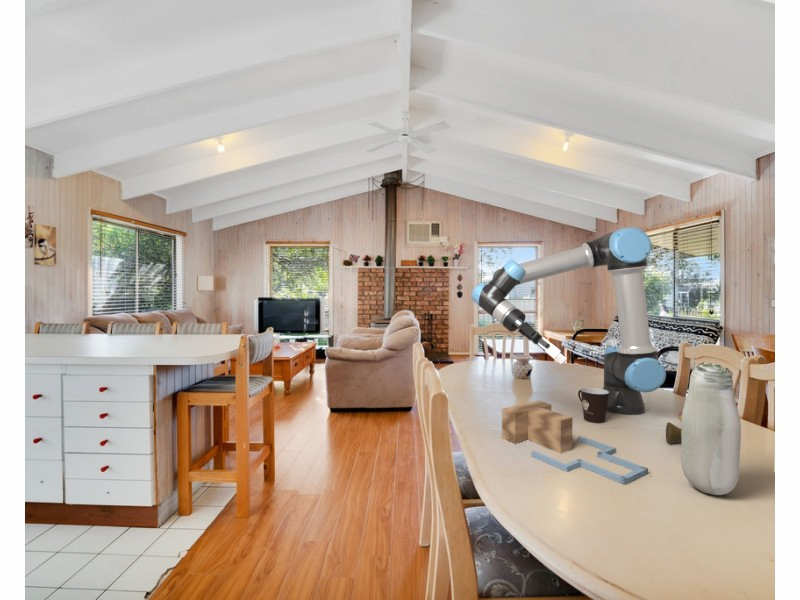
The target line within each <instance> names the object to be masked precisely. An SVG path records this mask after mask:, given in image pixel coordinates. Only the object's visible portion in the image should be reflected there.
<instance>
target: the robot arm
mask: <svg viewBox="0 0 800 600" xmlns="http://www.w3.org/2000/svg"><path fill="white" fill-rule="evenodd" d="M651 241H652V240H651V238H650V237H649V235H648V234H647V233H646V232H645V231H644V230H642V229H640V228H638V227H632V226H630V227H628V226H627V227H623V228H618V229H616V230H614V231H612V232H608V233H606V234H604V235H602V236H599V237H597V238H596V239H593V240H590V241H586V242H583V243H582V244H581V246H579V247H576V248H573V249H572V248H571V249H568V250H565V251H561V252H557V253H553V254H550V255H546V256H543V257H539V258H535V259H532V260H528V261H524V262H522V263H518V262H516V261H514V260H513V259H509V260H508V261H507V262H506V263H505V264H503V266H502V267H501V268H499V269H497V270H495V271H494V273H493V275H492V279H491V280H490V281H489V282H488V283H485V282H481V283H478V285H476V286H475V287H474V288H473V290H472V293H471V298H472V299H471V300H472V301H473V302H474V303H476V305H478V307H479V308H481V309H482V310H484V311H485V312H486V314H488V315H490V316H491V317H492V318H493V319H494V320H493V321H494V322H498V323H499V324H500V325H502V327H504V328H505V329H506V330H508V332H511V333H513V332H516V330H518V331H517V332H519V333H520V334H521V335H522V336H524V337H525V338H526V339H528V341H529V340H530V341H532V343H533V344H534V345H537V347H539V348H540V349H542V351H543V352H545V353H546V354H547V355H548V356H550V357H551V358H552V359H553V360H554V361H556V362H557V363H558V364H559V365H561V366H562V365H563V364H564V363H565V362H566V361H567V360H568V358H567V357H566V356H564V355H563V354H562V353H561V352H562V350H561V349H559V348H558V347H557V346H555V345H554V344H553V343H551V341H550V340H548V339H547V338H545V337H543V336H542V334H540V333H539V331H536V330H535V329H534V328H533V327H532V326H531V325H530V324H529V323H528V322H527V321H525V320H526V314H525V312H523V311H521V309H519V308H517V307H516V306H515V305H514V304H513V303H511V302H510V301H509V300H508V299H506V297H507V296H508V295H509V293H510V292H511V291H512V290H513V289H515V287H516V286H518V285H521V284H526V283H530V282H535V281H537V280H541V279H544V278H549V277H552V276H553V277H554V276H556V275H560V274H564V273H568V272H571V271H574V270H575V271H576V270H578V269H582V268H586V267H587V268H589V269H593V268H597V267H602V266H606V267H607V272H608V273H609V274H611V275H612V276H613V285H614V293H615V301H616V309H617V319H618V327H619V329H618V330H619V337H620V346H606V347H605V348H604V352H603V386H602V389H604V390H607V391H609V396H608V403H607V410H606V412H610V413H611V412H612V413H615V414H623V415H640V414H644V413H645V411H646V405H645V403H644V400H643V397H642V393H651V392H654V391H656V390H658V389H659V388H660V387H661V386H662V385H663V384H664V383H665V381H666V378H667V371H666V368H665V366H664V365H663V364H662V363H661V362H660V361H659V357H658V356H659V355H658V349H657V348H656V347H655V346H654V345H652V342H651V336H650V335H651V334H650V326H649V319H648V308H647V300H646V291H645V290H646V289H645V281H644V274H643V273H644V271H645V270H646V269H647V268H648V260H647V259H648V258H647V257H648V256H649V254H650V253H651V250H652V242H651Z"/></svg>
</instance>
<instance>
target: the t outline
mask: <svg viewBox="0 0 800 600" xmlns="http://www.w3.org/2000/svg"><path fill="white" fill-rule="evenodd" d="M577 442H580V443H583V444H586V445H588V446H591V447H594V448H597V449H600V451H597V453H596V454H597V456H596V457H598V458H600V459H603V460H605V461H609V462H611V463H614V464H616V465H618V466H622V467H624V468H627V469H629V470H631V472H628V473H626V474H623V475H620V474H618V473H616V472H613V471H610V470H608V469H605V468H603V467H601V466H597V465H596V464H592V463H590V462H588V461H585V460H583V459H580V458H578V459H575V460H573V461H569V462H567V463H564V462H562V461H559V460H557V459H555V458H552V457H550V456H548V455H546V454H543V453H540V452H539V451H535V450H533V451H530V452H531V453H530V454H531V457H532V458H534V459H537V460H540V462H541V461H542V462H543V463H546V464H548V465H550V466H553V467H555V468H557V469H559V470H562V471H564V472H565V473H567V472H569V471H572V470H575V469H577V468H580V467H581V468H583V469H585V470H588V471H590V472H593V473H596V474H598V475H600V476H602V477H605V478H608V479H609V480H610V479H611V480H612V481H614V482H617V483H619V484H622V485H626V484H629V483H631V482H634V481H635V480H637V479H639V478H641V477H644V476H646V475H647V474H649V468H648V467H645V466H642V465H639V464H638V463H637V464H636V463H634V462H631V461H628V460H626V459H622V458H620V457H617V456H615V455H614V454H616V453H617V448H616V447H613V446H611V445H608V444H605V443H602V442H598V441H596V440H593V439H590V438H587V437H584V436H582V435H579V436H577ZM632 470H633V471H632Z"/></svg>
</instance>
